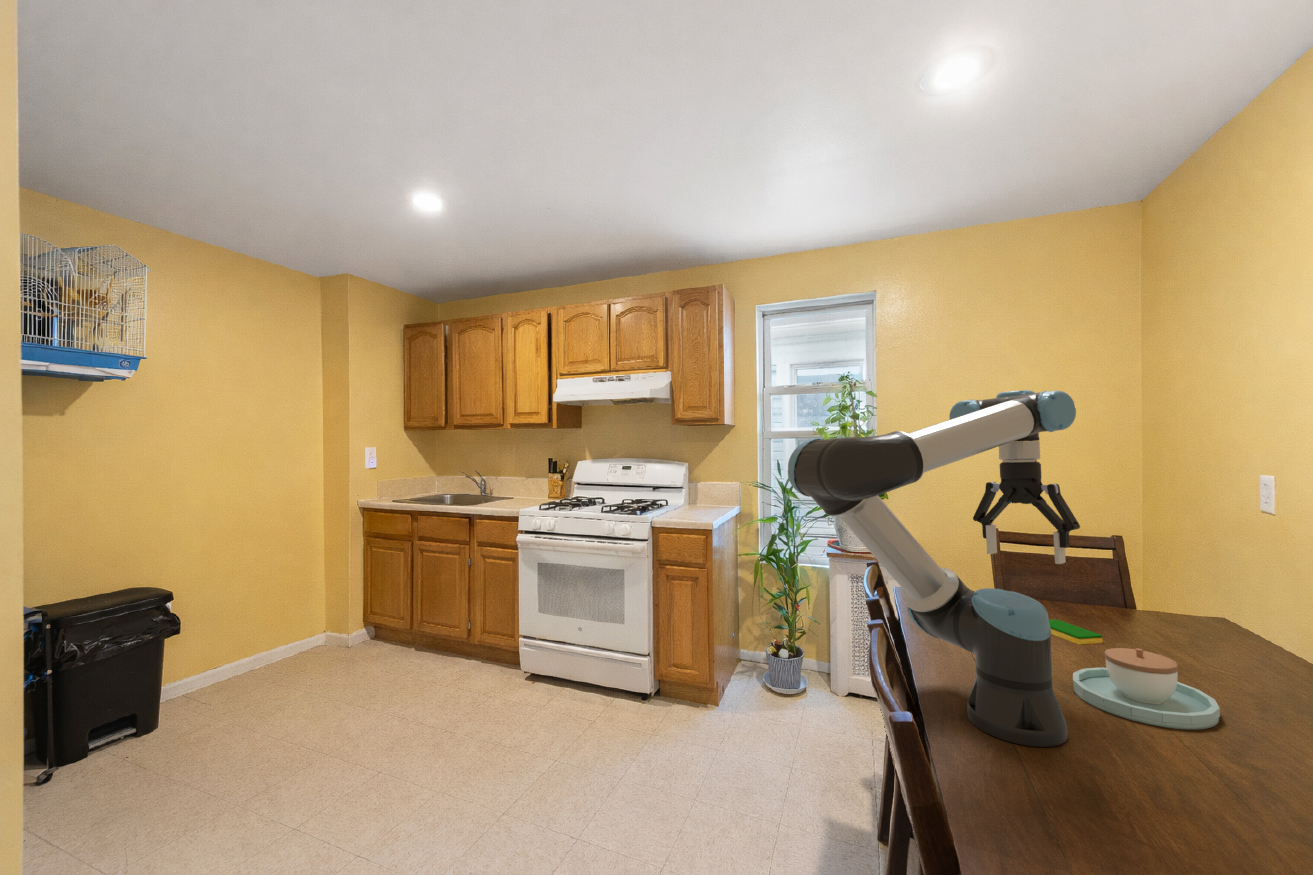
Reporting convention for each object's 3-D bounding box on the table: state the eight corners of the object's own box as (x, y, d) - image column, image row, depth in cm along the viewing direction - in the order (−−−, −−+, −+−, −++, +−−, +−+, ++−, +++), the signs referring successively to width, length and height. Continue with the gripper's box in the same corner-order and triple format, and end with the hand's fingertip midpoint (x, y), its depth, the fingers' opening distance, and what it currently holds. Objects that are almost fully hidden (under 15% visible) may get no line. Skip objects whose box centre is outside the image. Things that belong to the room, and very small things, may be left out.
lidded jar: (1149, 685, 108) (1146, 639, 109) (1196, 710, 98) (1193, 659, 98) (1093, 684, 110) (1090, 639, 110) (1134, 709, 99) (1131, 659, 99)
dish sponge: (1057, 627, 149) (1057, 618, 149) (1104, 644, 136) (1103, 635, 136) (1034, 628, 148) (1034, 620, 149) (1079, 646, 135) (1078, 636, 135)
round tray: (1194, 741, 90) (1193, 726, 90) (1053, 694, 108) (1053, 681, 108) (1236, 710, 100) (1235, 696, 100) (1100, 671, 118) (1100, 660, 118)
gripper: (1096, 460, 107) (1102, 565, 106) (972, 460, 128) (976, 548, 128) (1078, 461, 103) (1084, 570, 102) (954, 461, 125) (958, 551, 124)
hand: (1024, 558), depth 115 cm, fingers open, 13 cm apart
